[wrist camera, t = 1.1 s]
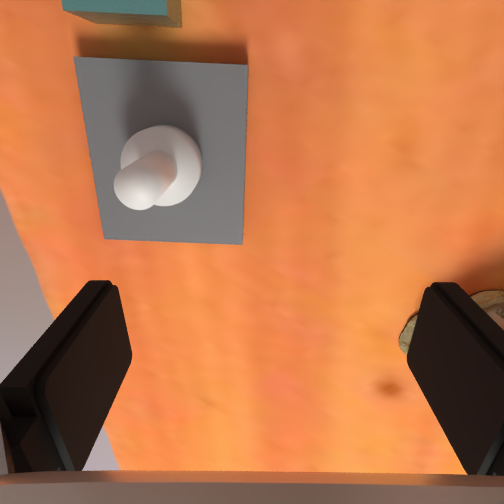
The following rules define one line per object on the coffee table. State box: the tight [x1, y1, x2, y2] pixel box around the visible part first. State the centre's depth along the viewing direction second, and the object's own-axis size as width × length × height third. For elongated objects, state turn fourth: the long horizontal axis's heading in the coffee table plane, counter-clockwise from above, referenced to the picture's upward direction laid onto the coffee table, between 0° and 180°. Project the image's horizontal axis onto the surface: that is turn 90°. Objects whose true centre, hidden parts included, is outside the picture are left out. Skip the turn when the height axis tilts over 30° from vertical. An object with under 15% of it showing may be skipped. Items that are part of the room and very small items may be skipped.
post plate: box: [74, 57, 248, 245], centre depth 27 cm, size 16×14×10 cm
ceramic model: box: [399, 291, 504, 354], centre depth 36 cm, size 14×11×10 cm
